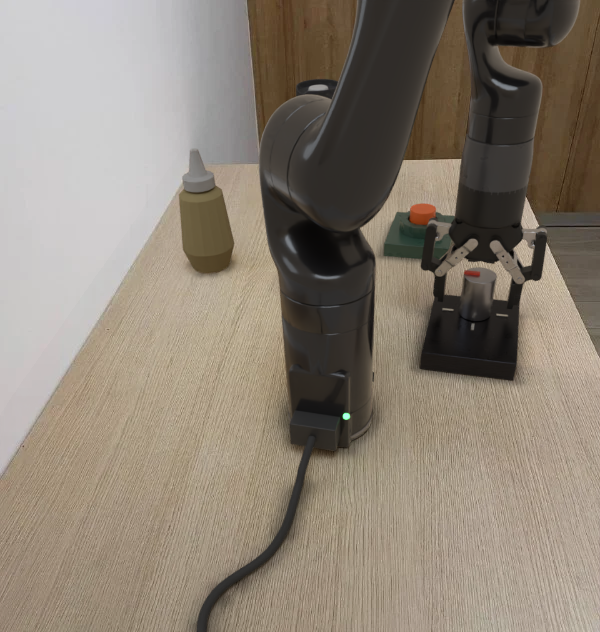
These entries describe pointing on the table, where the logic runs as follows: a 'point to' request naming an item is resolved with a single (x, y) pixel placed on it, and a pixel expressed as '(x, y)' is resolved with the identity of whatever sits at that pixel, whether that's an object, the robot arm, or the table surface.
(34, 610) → the table surface
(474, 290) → the cooker knob
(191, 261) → the squeeze bottle
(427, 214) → the button
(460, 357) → the panel
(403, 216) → the button housing
